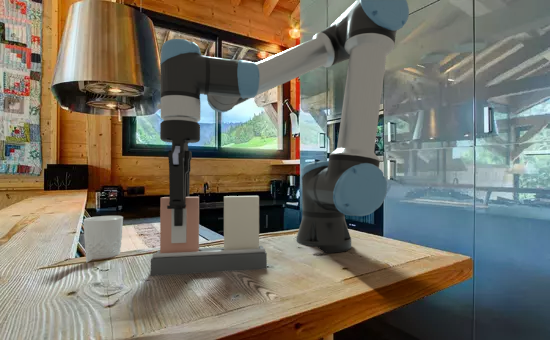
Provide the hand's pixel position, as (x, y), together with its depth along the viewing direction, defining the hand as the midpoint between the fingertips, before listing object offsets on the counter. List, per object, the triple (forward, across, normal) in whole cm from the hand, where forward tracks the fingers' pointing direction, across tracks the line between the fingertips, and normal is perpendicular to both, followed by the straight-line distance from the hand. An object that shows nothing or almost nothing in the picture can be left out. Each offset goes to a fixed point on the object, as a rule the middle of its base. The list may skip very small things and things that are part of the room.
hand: (180, 240), depth 57 cm
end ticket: (+6, 0, 0) cm, 6 cm away
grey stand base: (+7, 0, +6) cm, 9 cm away
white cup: (+7, -14, -19) cm, 25 cm away
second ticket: (+6, 0, +12) cm, 13 cm away
